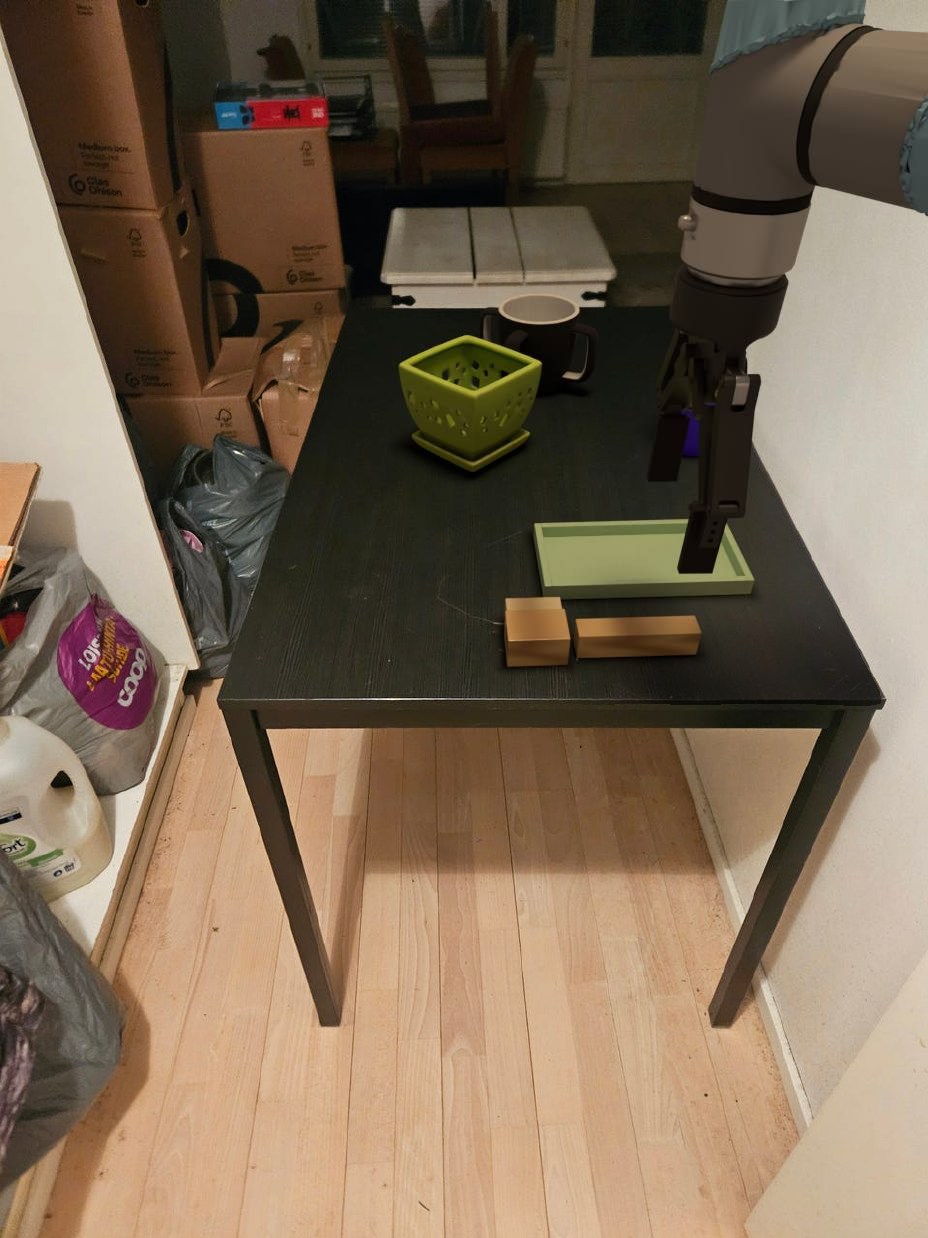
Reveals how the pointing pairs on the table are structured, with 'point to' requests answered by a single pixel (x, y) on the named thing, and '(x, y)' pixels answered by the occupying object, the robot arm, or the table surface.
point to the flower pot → (470, 400)
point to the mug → (543, 335)
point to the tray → (630, 561)
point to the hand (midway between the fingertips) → (676, 522)
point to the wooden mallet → (589, 634)
